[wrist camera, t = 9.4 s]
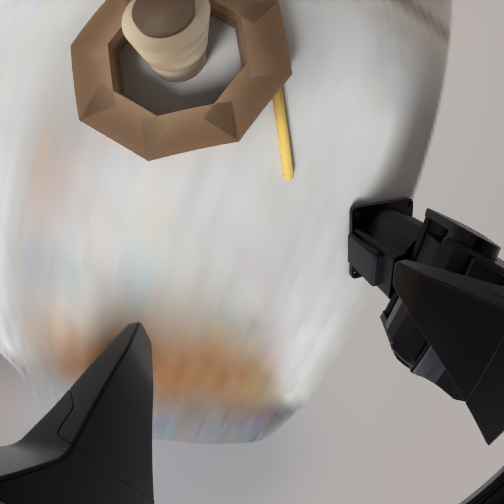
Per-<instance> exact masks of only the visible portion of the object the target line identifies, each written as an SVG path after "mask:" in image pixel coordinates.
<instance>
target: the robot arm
mask: <svg viewBox="0 0 504 504" xmlns="http://www.w3.org/2000/svg"><path fill="white" fill-rule="evenodd" d="M407 203H408V205H407ZM356 211H358V212H357V214H356V215H355V212H356ZM412 214H413V201H412V199H410V198H407V197H406V198H400V199H394V200H388V201H382V202H376V203H371V204H365V205H359V206H354V207H352V208H351V210H350V233H349V235H348V262H349V263H350V265H349V274H350V276H351V277H352V278H359V277H364V278H365V279H366V280H367V281H368V282H369V284H371V285H372V286H377V287H378V288H379V289H380V290H381V291H382V292H383V293H384V294H385V295H386V296H387V297H388V298H389V299H391V300H390V302H389V304H388V306H387V307H386V309H385V310H384V311H383V313H382V315H381V316H380V318H381V320H382V323H383V325H384V328H385V331H386V333H387V336H388V339H389V342H390V345H391V348H392V350H393V352H394V354H395V356H396V357H397V359H398V360H399V361H400V362H401V363H402V364H404V365H405V366H406V367H408V368H410V371H411V372H412V373H414V374H416V375H419V376H422V377H424V378H426V379H428V380H430V381H431V382H433V383H435V384H436V385H438V386H439V387H440V388H442V389H443V390H444V391H445V392H446V393H448V394H449V395H450V396H451V397H452V398H453V399H456V400H461V401H465V402H466V404H467V406H468V408H469V410H470V412H471V413H472V415H473V417H474V419H475V421H476V423H477V425H478V427H479V429H480V431H481V433H482V435H483V437H484V439H485V441H486V443H487V444H488V445H490V444H491V443H492V442H493V441H494V440H495V439H496V438H498V436H500V435H501V434H502V433H503V432H504V261H503V260H501V259H500V258H498V257H497V256H498V254H499V251H500V249H501V248H500V247H499V246H498V245H497V244H495V243H494V242H492V241H491V240H489V239H488V238H486V237H485V236H484V235H482V234H480V233H479V232H477V231H475V230H473V229H471V228H470V227H468V226H466V225H464V224H462V223H460V222H458V221H456V220H453V219H451V218H449V217H447V216H445V215H442V214H440V213H438V212H436V211H433V210H431V209H429V208H427V210H426V213H425V216H426V217H425V220H424V223H423V222H421V221H419V220H417V219H416V218H413V217H412ZM355 271H356V273H355V274H354V272H355ZM152 410H153V369H152V347H151V342H150V339H149V337H148V335H147V333H146V331H145V329H144V327H143V325H142V324H141V323H140V322H137V323H131V324H128V325H127V326H126V328H125V329H124V330H123V331H122V332H121V333H120V334H119V335H118V336H117V337H116V338H115V339H114V340H113V341H112V343H111V344H110V345H109V346H108V347H107V348H106V349H105V350H104V351H103V352H102V353H101V354H100V356H99V357H98V358H97V359H96V360H95V361H94V362H93V363H92V364H91V365H90V367H89V368H88V369H87V370H86V371H85V372H84V373H83V374H82V375H81V377H80V378H79V379H78V380H77V381H76V382H75V383H74V384H73V386H72V387H71V388H70V390H68V391H67V392H66V394H65V395H64V396H63V397H62V398H61V399H60V400H59V401H58V403H57V404H56V405H55V406H54V407H53V408H52V409H51V410H50V411H49V412H48V413H47V414H46V415H45V416H44V417H43V418H42V419H41V420H40V421H39V422H38V423H37V424H36V425H35V426H34V427H33V428H32V429H31V430H30V431H29V432H28V433H27V434H26V435H25V436H24V437H23V438H22V439H21V440H19V441H18V442H16V443H14V444H12V445H8V446H2V447H0V504H154V499H153V498H154V495H153V476H152V475H153V473H152ZM459 504H504V466H503V467H502V468H501V469H500V470H499V471H498V472H497V473H496V474H495V475H494V476H492V477H491V478H490V479H489V480H488V481H487V482H486V483H485V484H484V485H482V486H481V487H480V488H479V489H477V490H476V491H475V492H474V493H473V494H471V495H470V496H469V497H467V498H466V499H465V500H464V501H462V502H461V503H459Z"/></svg>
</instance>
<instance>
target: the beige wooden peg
mask: <svg viewBox="0 0 504 504" xmlns="http://www.w3.org/2000/svg"><path fill="white" fill-rule="evenodd" d="M209 20H210V3H209V0H131V2H130V3H129V4H128V6H127V7H126V9H125V11H124V13H123V17H122V31H123V34H124V36H125V37H126V39H127V40H128V41H129V42H130V43H131V45H132V46H133V47H134V48H135V49H136V50H137V51H138V52H139V54H140V55H141V56H142V57H143V58H144V59H145V61H146V62H147V63H148V64H149V65H150V66H151V67H152V69H153V70H154V71H155V72H156V73H157V75H159V76H160V77H161V78H162V79H164V80H167V81H170V82H182V81H186V80H189V79H191V78H193V77H194V76H196V75H197V74H198V73H199V72H200V71H201V70H202V68H203V67H204V65H205V62H206V55H207V43H208V31H209Z"/></svg>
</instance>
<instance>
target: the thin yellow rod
mask: <svg viewBox="0 0 504 504" xmlns="http://www.w3.org/2000/svg"><path fill="white" fill-rule="evenodd" d="M273 103H274V110H275V117H276V123H277V130H278V137H279V145H280V152H281V160H282V167H283V175H284V178H285V179H286V180H291V179H292V178H293V176H294V174H293V166H292V158H291V149H290V142H289V134H288V127H287V120H286V113H285V106H284V99H283V93H282V87H281V88H280V89H279V90H278V92H277V93H276V94H275V95H274V97H273Z"/></svg>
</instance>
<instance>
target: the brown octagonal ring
mask: <svg viewBox="0 0 504 504" xmlns="http://www.w3.org/2000/svg"><path fill="white" fill-rule="evenodd" d="M130 2H131V0H106V1H105V2H104V3H103V5H102V6H101V7H100V8H99V9H98V10H97V12H96V13H95V14H94V15H93V16H92V18H91V19H90V20H89V21H88V23H87V24H86V25H85V27H84V28H83V29H82V31H81V32H80V33H79V35H78V36H77V37H76V39H75V40H74V42H73V43H72V45H71V58H72V70H73V79H74V88H75V96H76V103H77V109H78V115H79V120H80V121H82V122H83V123H85V124H87V125H89V126H90V127H92V128H94V129H95V130H97V131H99V132H100V133H102V134H104V135H106V136H107V137H109V138H111V139H112V140H114V141H116V142H117V143H119V144H121V145H122V146H124V147H126V148H127V149H129V150H131V151H132V152H134V153H136V154H137V155H139V156H141V157H142V158H144V159H146V160H147V161H151V160H154V159H158V158H162V157H166V156H170V155H175V154H179V153H183V152H188V151H192V150H197V149H201V148H206V147H211V146H216V145H222V144H227V143H233V142H239V140H240V139H241V138H242V136H243V135H244V134H245V132H246V131H247V130H248V129H249V127H250V126H251V125H252V123H253V122H254V121H255V119H256V118H257V117H258V115H259V114H260V113H261V112H262V110H263V109H264V108H265V107H266V105H267V104H268V103H269V102H270V100H271V99H272V98H273V97H274V95H275V94H276V93H277V92H278V90H279V89H280V88H281V87H282V86H283V84H284V83H285V82H286V81H287V80H288V78H289V77H290V76H291V75H292V70H291V64H290V59H289V53H288V48H287V42H286V37H285V32H284V27H283V22H282V18H281V13H280V8H279V4H278V1H277V0H209V3H210V14H211V15H213V16H215V17H217V18H218V19H220V20H222V21H224V22H225V23H227V24H229V25H230V26H232V27H234V28H235V31H236V36H237V42H238V48H239V53H240V59H241V65H242V70H241V71H240V72H239V73H238V74H237V76H236V77H235V78H234V79H233V80H232V82H231V83H230V84H229V85H228V87H227V88H226V89H225V90H224V92H223V93H222V94H221V95H220V97H219V98H218V99H217V101H216V102H215V103H214V104H210V105H205V106H199V107H195V108H190V109H185V110H181V111H176V112H172V113H168V114H164V115H160V116H159V115H157V114H156V113H154V112H152V111H151V110H149V109H147V108H146V107H144V106H142V105H140V104H139V103H137V102H135V101H133V100H132V99H130V98H128V97H126V96H125V95H124V92H123V85H122V78H121V71H120V63H119V55H118V53H119V52H120V50H121V49H122V48H123V46H124V45H125V44H126V43H127V41H128V40H127V39H126V37H125V36H124V34H123V31H122V17H123V13H124V11H125V9H126V7H127V6H128V4H129V3H130Z"/></svg>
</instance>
